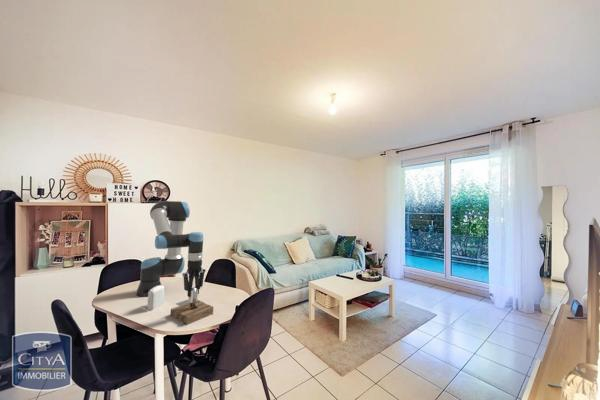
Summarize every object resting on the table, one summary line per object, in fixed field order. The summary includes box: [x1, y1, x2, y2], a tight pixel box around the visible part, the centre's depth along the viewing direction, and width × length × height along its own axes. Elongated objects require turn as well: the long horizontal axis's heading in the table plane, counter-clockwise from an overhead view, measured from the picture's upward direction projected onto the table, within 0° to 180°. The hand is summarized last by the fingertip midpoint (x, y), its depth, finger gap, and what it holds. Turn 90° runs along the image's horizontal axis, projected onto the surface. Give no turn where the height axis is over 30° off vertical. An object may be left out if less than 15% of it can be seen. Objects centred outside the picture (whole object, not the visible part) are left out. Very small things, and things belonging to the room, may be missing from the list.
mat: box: [175, 299, 205, 306], centre depth 148 cm, size 12×12×1 cm
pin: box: [190, 286, 196, 307], centre depth 134 cm, size 3×3×10 cm
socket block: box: [169, 299, 214, 325], centre depth 133 cm, size 16×16×4 cm
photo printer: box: [146, 284, 165, 311], centre depth 142 cm, size 10×4×12 cm, turn 172°
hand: (192, 301), depth 133 cm, fingers closed on pin, 2 cm apart
